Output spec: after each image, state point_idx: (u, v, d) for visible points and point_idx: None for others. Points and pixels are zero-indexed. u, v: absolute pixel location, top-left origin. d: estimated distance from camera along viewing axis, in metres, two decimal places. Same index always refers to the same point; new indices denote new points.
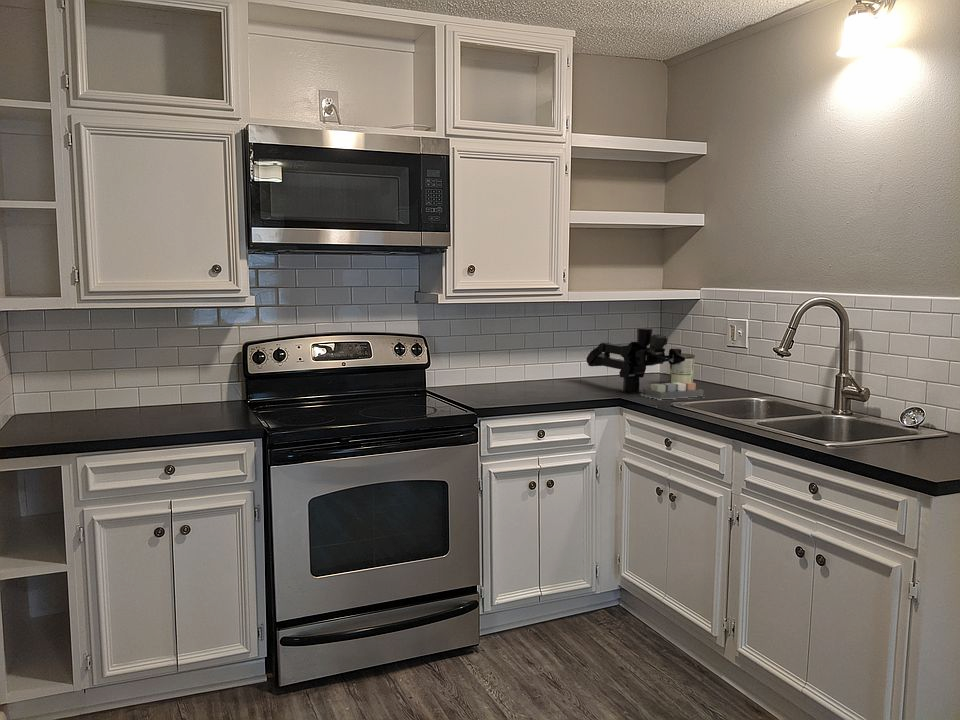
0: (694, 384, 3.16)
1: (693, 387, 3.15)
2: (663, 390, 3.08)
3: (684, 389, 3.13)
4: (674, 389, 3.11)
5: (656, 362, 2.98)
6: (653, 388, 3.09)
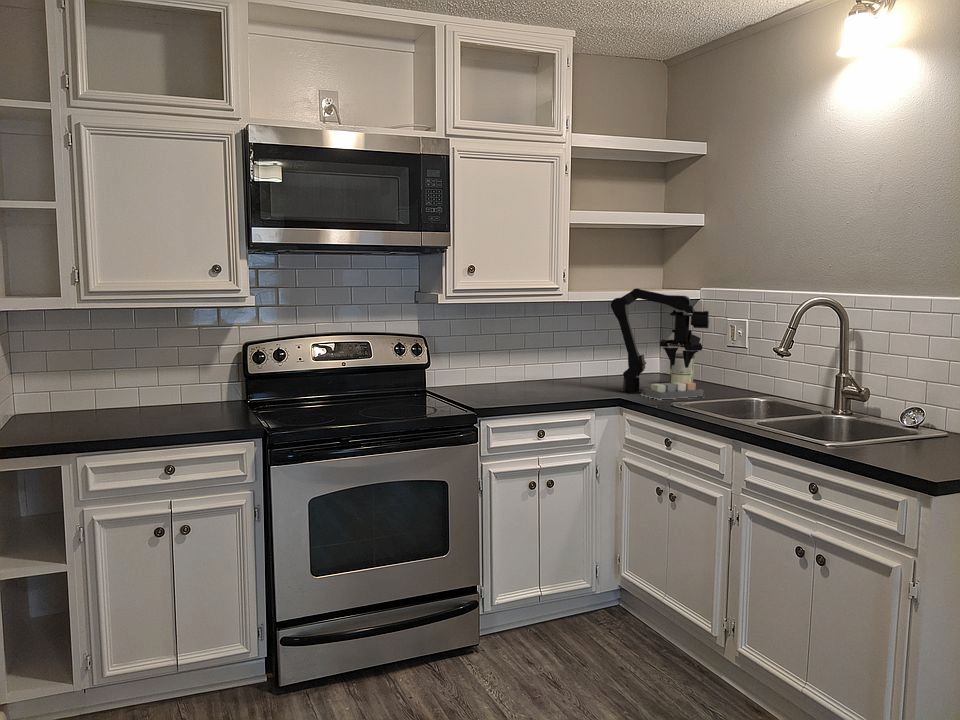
0: (694, 384, 3.16)
1: (693, 387, 3.15)
2: (663, 390, 3.08)
3: (684, 389, 3.13)
4: (674, 389, 3.11)
5: (686, 358, 3.08)
6: (653, 388, 3.09)
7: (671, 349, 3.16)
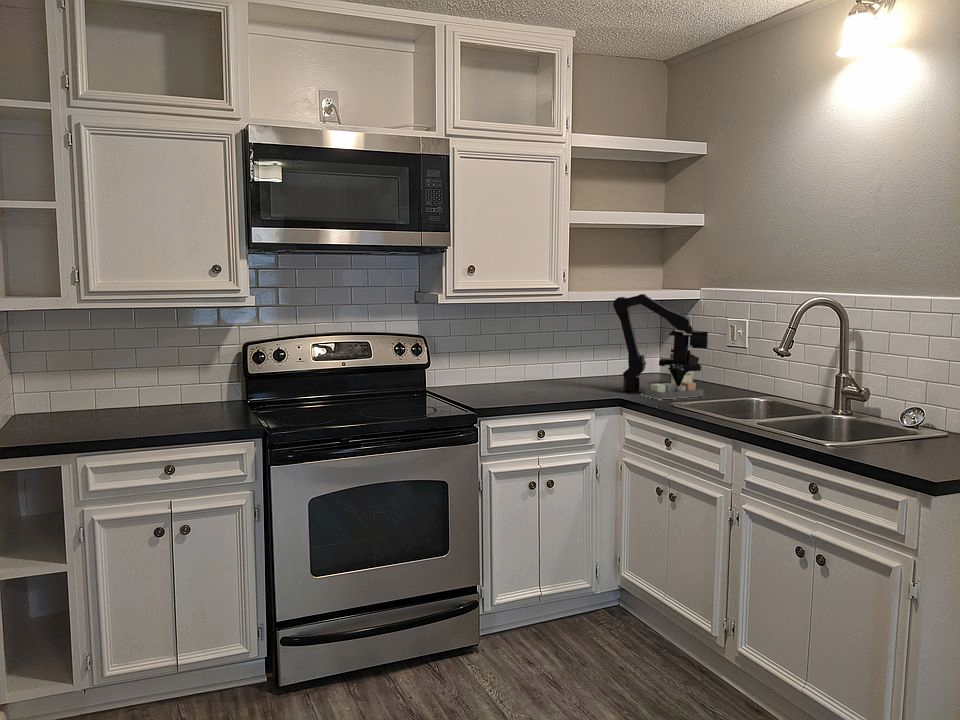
0: (694, 384, 3.16)
1: (693, 387, 3.15)
2: (663, 390, 3.08)
3: None
4: (674, 389, 3.11)
5: (678, 377, 3.12)
6: (653, 388, 3.09)
7: None
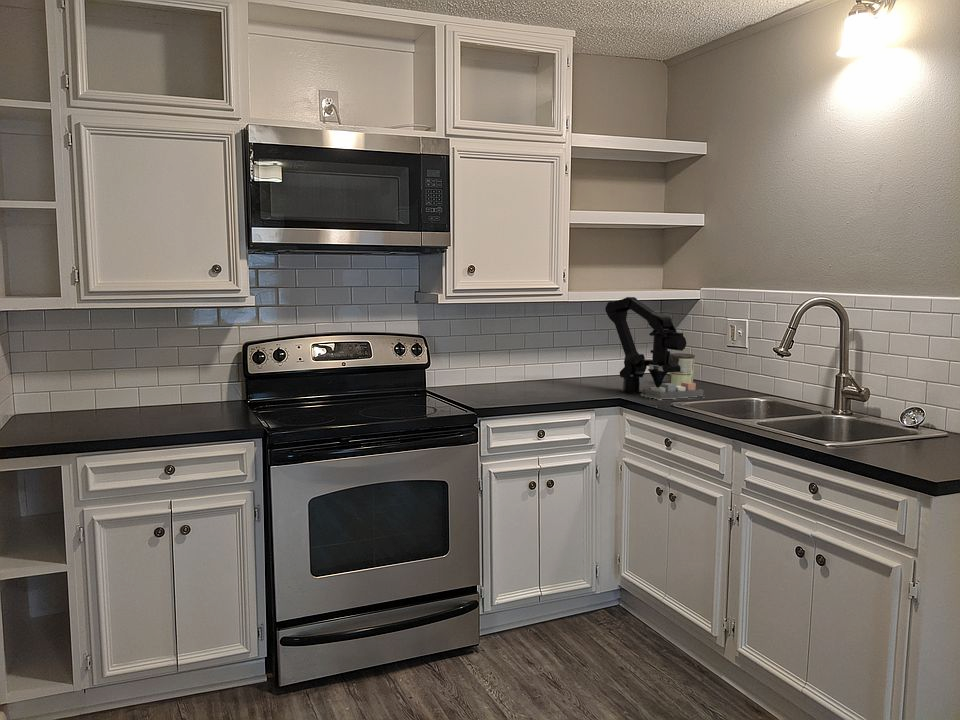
0: (694, 384, 3.16)
1: (693, 387, 3.15)
2: None
3: None
4: (674, 389, 3.11)
5: (658, 378, 3.07)
6: None
7: None
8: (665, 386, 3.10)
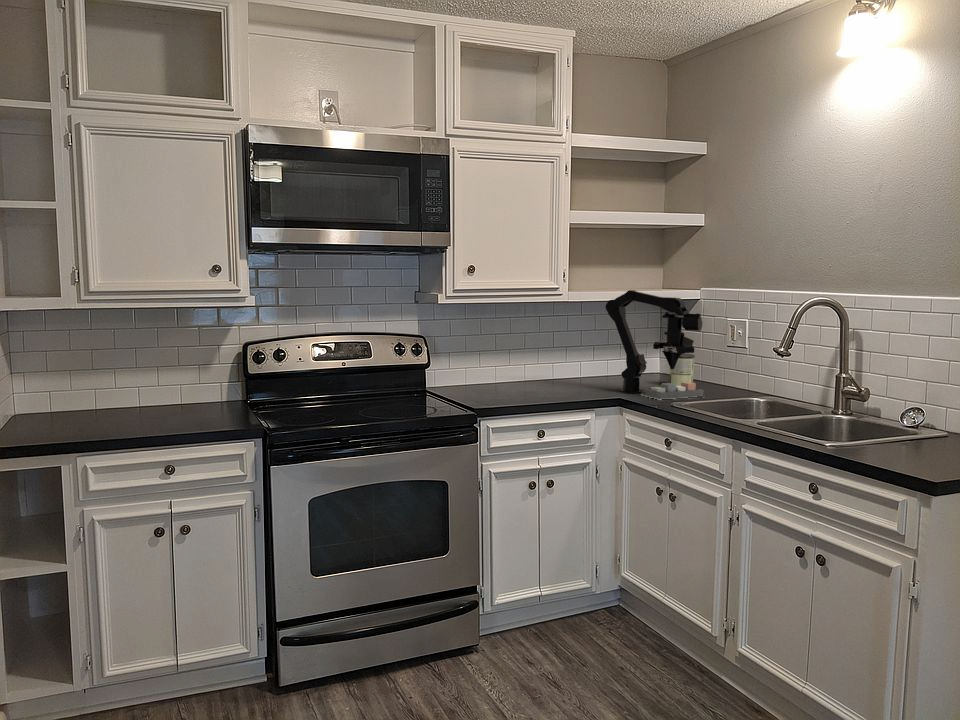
0: (694, 384, 3.16)
1: (693, 387, 3.15)
2: None
3: None
4: (674, 389, 3.11)
5: (672, 359, 3.09)
6: None
7: None
8: (665, 386, 3.10)
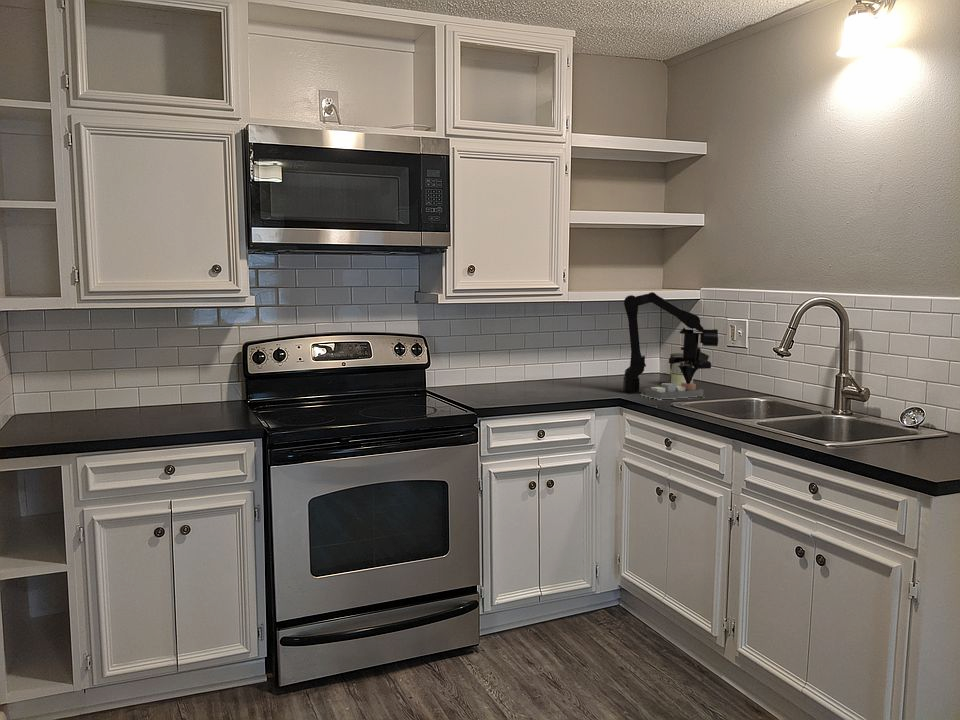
0: (694, 385, 3.16)
1: (693, 388, 3.16)
2: None
3: None
4: (674, 389, 3.11)
5: (688, 374, 3.14)
6: None
7: None
8: (665, 386, 3.10)
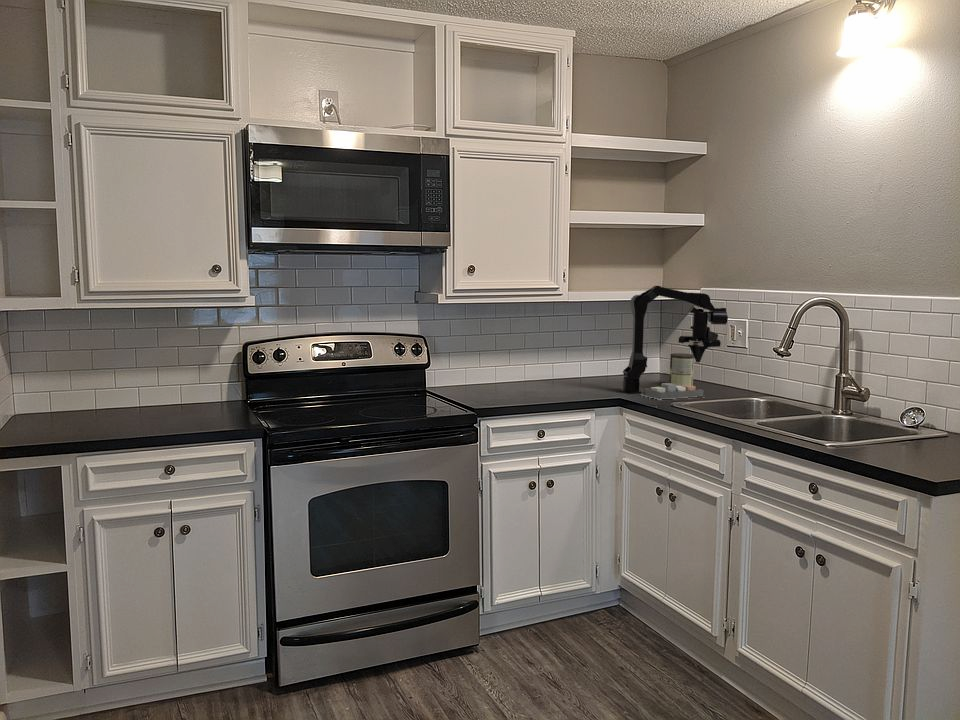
0: (694, 387, 3.16)
1: None
2: None
3: None
4: (674, 389, 3.11)
5: (698, 353, 3.18)
6: None
7: None
8: (665, 386, 3.10)
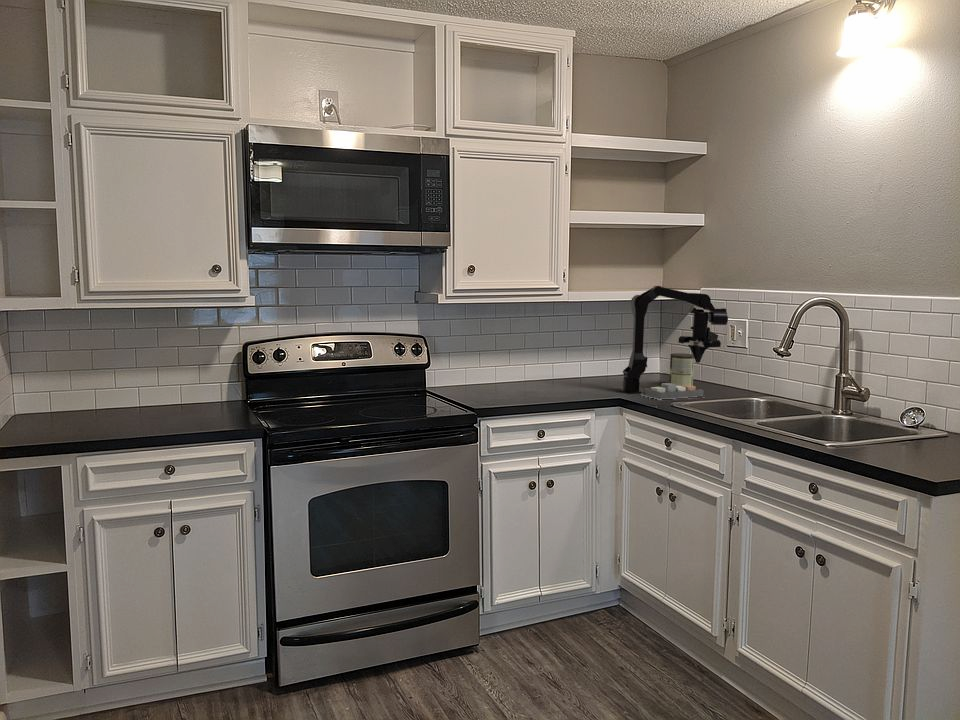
0: (694, 387, 3.16)
1: None
2: None
3: None
4: (674, 389, 3.11)
5: (698, 353, 3.18)
6: None
7: None
8: (665, 386, 3.10)
